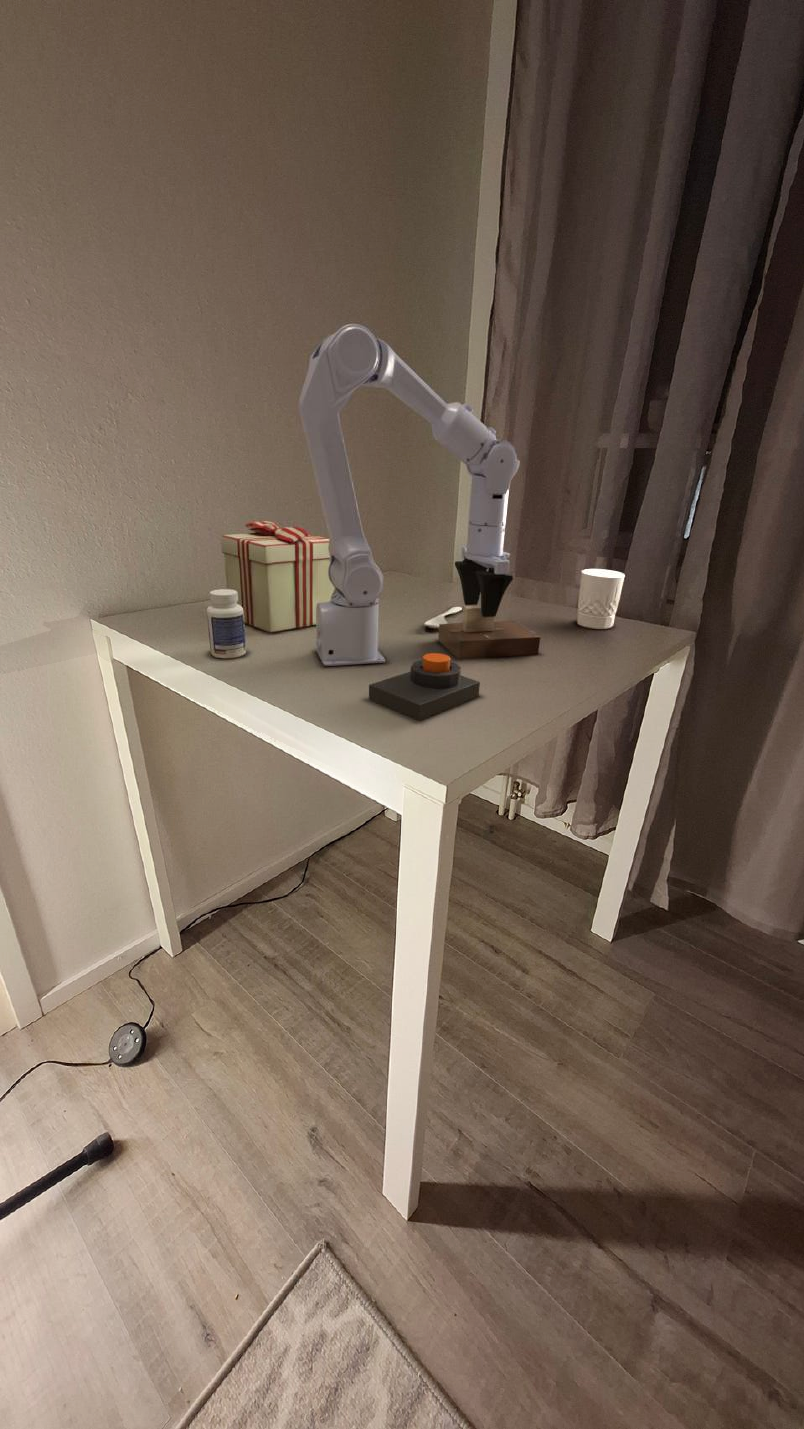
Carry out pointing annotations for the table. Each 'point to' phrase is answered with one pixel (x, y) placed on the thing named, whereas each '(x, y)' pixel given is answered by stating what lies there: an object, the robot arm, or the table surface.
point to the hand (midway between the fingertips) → (479, 610)
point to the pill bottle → (226, 624)
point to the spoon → (441, 618)
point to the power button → (436, 662)
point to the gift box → (277, 575)
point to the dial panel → (489, 640)
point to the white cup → (599, 597)
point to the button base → (424, 691)
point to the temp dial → (476, 620)
